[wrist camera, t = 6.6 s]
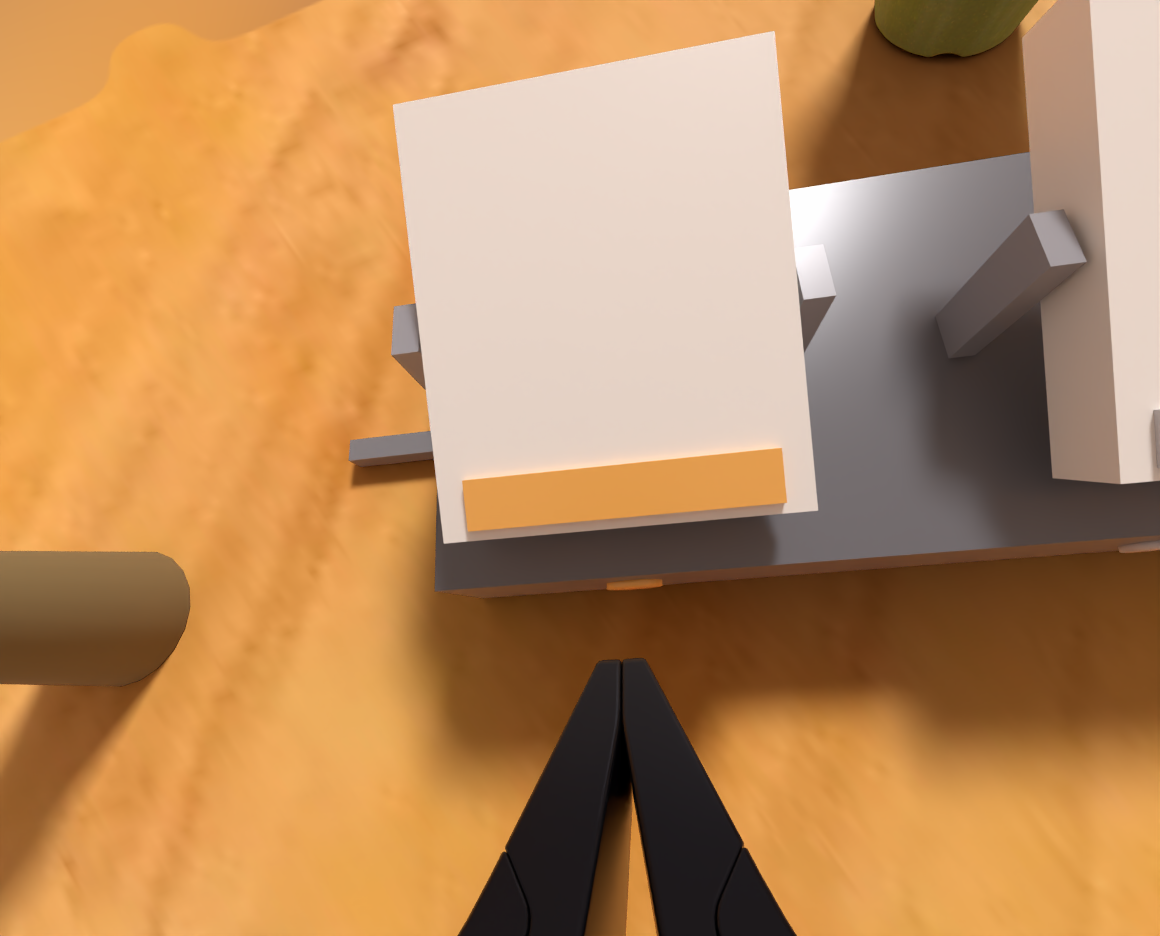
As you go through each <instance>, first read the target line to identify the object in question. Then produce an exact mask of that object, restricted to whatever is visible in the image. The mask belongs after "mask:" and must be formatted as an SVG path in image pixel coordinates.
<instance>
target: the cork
mask: <svg viewBox="0 0 1160 936" xmlns="http://www.w3.org/2000/svg"><path fill="white" fill-rule="evenodd" d="M189 610H190V593H189V585H188V582H187V580H186V577H185V574H184V572H183V570H182V569H181V568H180V567H179V566H178V565H177V563H176V562H175V561H174V560H173V559H172V558H170V557H167V556H165V555H163V554H160V553H158V552H61V551H0V684H27V685H76V686H124V685H127V684H130V683H133V682H136V681H140V680H141V679H143V678H144V677H146V676H147V675H149V674H150V673H152V672H153V671H154V670H156V669H157V668H159V667H160V665H161V664H162V663H163V662H164V661H165V660H166V659H167V657H168V656H169V655H170V654H171V653H172V652H173V650H174V649H175V647H176V645H177V643H178V641H179V639H180V637H181V635H182V633H183V632H184V630H185V626H186V622H187V618H188V614H189Z"/></svg>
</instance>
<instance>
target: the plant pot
mask: <svg viewBox="0 0 1160 936" xmlns="http://www.w3.org/2000/svg"><path fill="white" fill-rule="evenodd" d="M1037 1H1038V0H875V23H876V25H877V27H878V29H879V30H880V31H881V33H882V34H883V35H884V36H885V38H887V39H888V40H889V41H890V42H891V43H893V44H894V45H896V46H898V47H900V48H902V49H904V50H906V51H908V52H911V53H913V54H917V55H922V56H926V57H932V56H935V55H938V54H943V53H953V54H957V55H959V56H962V57H965V56H970V55H975V54H978V53H981V52H984V51H986V50H988V49H991V48H993V47H995V46H996V45H998V44H1000V43H1001V42H1003V41H1004V40H1005V39H1006V38H1007V37H1008V36H1009V35H1011V34H1012V32H1013V31H1014V30H1015V29H1016V27H1017V26H1018V25H1019V24H1020V22H1021V21H1022V20H1023V19H1024V18H1025V16H1026V15H1027V14H1028V13H1029V11H1030V10H1031V9H1032V8H1033V6H1034V5H1035V4H1036V3H1037Z"/></svg>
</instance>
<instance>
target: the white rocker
mask: <svg viewBox="0 0 1160 936" xmlns="http://www.w3.org/2000/svg"><path fill="white" fill-rule="evenodd" d="M1022 46H1023V61H1024V75H1025V89H1026V104H1027V118H1028V133H1029V147H1030V161H1031V176H1032V190H1033V205H1034V213H1041V212H1048V211H1055V210H1061V209H1064V211H1065V213H1066V215H1067V218H1068V220H1069V222H1070V225H1071V227H1072V229H1073V231H1074V234H1075V236H1076V238H1077V240H1078V243H1079V245H1080V247H1081V249H1082V252H1083V254H1084V256H1085V258H1086V261H1087V262H1086V263H1085V264H1084V265H1083V266H1081V267H1080V268H1079V269H1078V270H1077V271H1075V272H1074V273H1073V274H1072V275H1071V276H1069V277H1068V278H1067V279H1066V280H1065V281H1063V282H1062V283H1061V284H1060V285H1059V286H1057V287H1056V288H1055V289H1054V290H1053V291H1051V292H1050V293H1049V294H1048V295H1047V296H1045V297H1044V298H1043V299H1042V300H1041V301H1040V305H1041V320H1042V334H1043V348H1044V363H1045V377H1046V391H1047V406H1048V420H1049V435H1050V449H1051V463H1052V478H1057V479H1068V480H1080V481H1091V482H1103V483H1114V484H1127V483H1139V482H1150V481H1160V0H1058V1H1057V2H1056V3H1055V4H1054V5H1053V6H1052V7H1051V8H1050V9H1049V10H1048V11H1047V12H1046V13H1045V14H1044V15H1043V17H1042V18H1041V19H1040V20H1039V21H1038V22H1037V23H1036V24H1035V25H1034V26H1033V27H1032V28H1031V29H1030V30H1029V31H1028V32H1027V33H1026V34H1025V35H1024V36H1023V37H1022Z"/></svg>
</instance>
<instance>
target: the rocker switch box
mask: <svg viewBox="0 0 1160 936" xmlns="http://www.w3.org/2000/svg"><path fill="white" fill-rule="evenodd" d="M789 196H790V207H791V218H792V229H793V240H794V251H795V262H796V272H797V283H798V294H799V305H800V316H801V327H802V338H803V349H804V360H805V371H806V382H807V393H808V404H809V415H810V426H811V437H812V448H813V459H814V470H815V481H816V492H817V503H818V511H808V512H797V513H786V514H774V515H763V516H752V517H740V518H729V519H718V520H706V521H695V522H684V523H672V524H661V525H650V526H638V527H627V528H616V529H604V530H593V531H582V532H570V533H559V534H548V535H536V536H525V537H514V538H502V539H491V540H480V541H468V542H457V543H446V544H444V542H443V533H442V525H441V516H440V507H439V499H438V490H437V516H436V559H435V591H436V592H443V593H450V594H457V595H464V596H471V597H477V598H494V597H508V596H521V595H534V594H548V593H561V592H575V591H588V590H601V589H607V590H634V589H646V588H654V587H660V586H663V585H668V584H682V583H695V582H709V581H722V580H735V579H749V578H762V577H775V576H789V575H802V574H816V573H829V572H842V571H856V570H869V569H883V568H896V567H909V566H923V565H936V564H949V563H963V562H976V561H990V560H1003V559H1016V558H1030V557H1043V556H1057V555H1070V554H1083V553H1097V552H1110V551H1119V552H1120V553H1133V552H1146V551H1157V550H1160V481H1150V482H1139V483H1127V484H1114V483H1103V482H1091V481H1080V480H1068V479H1057V478H1052V463H1051V449H1050V435H1049V420H1048V406H1047V391H1046V377H1045V363H1044V348H1043V334H1042V320H1041V305H1040V301H1041V300H1042V299H1043V298H1044V297H1045V296H1047V295H1048V294H1049V293H1050V292H1051V291H1053V290H1054V289H1055V288H1056V287H1057V286H1059V285H1060V284H1061V283H1062V282H1063V281H1065V280H1066V279H1067V278H1068V277H1069V276H1071V275H1072V274H1073V273H1074V272H1075V271H1077V270H1078V269H1079V268H1080V267H1081V266H1083V265H1084V264H1085V263H1086V262H1087V261H1086V258H1085V256H1084V254H1083V252H1082V249H1081V247H1080V245H1079V243H1078V240H1077V238H1076V236H1075V234H1074V231H1073V229H1072V227H1071V225H1070V222H1069V220H1068V218H1067V215H1066V213H1065V211H1064V209H1061V210H1055V211H1048V212H1041V213H1034V205H1033V190H1032V176H1031V161H1030V152H1026V153H1020V154H1013V155H1007V156H1001V157H994V158H988V159H982V160H976V161H969V162H963V163H957V164H950V165H944V166H938V167H931V168H925V169H919V170H912V171H906V172H900V173H893V174H887V175H881V176H875V177H868V178H862V179H856V180H849V181H843V182H837V183H830V184H824V185H818V186H811V187H805V188H799V189H792V190H789ZM391 355H392V356H393V357H394V358H395V359H396V360H397V361H398V362H399V363H400V364H401V365H402V366H403V368H404V369H405V370H406V371H407V372H408V373H409V374H410V375H411V376H412V377H413V378H414V379H415V380H416V381H417V382H418V383H419V384H420V385H421V386H422V387H423V388H424V389H425V390H426V387H425V378H424V369H423V361H422V352H421V344H420V335H419V326H418V318H417V309H416V304H409V305H402V306H395V307H394V317H393V335H392V353H391ZM431 459H434V456H433V447H432V438H431V431H427V432H418V433H409V434H401V435H392V436H383V437H375V438H366V439H357V440H350V452H349V461H350V462H352V463H354V464H356V465H358V466H360V467H366V466H375V465H385V464H394V463H403V462H412V461H422V460H431Z"/></svg>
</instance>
